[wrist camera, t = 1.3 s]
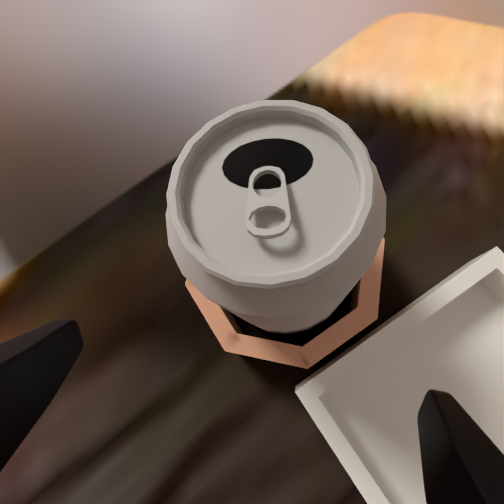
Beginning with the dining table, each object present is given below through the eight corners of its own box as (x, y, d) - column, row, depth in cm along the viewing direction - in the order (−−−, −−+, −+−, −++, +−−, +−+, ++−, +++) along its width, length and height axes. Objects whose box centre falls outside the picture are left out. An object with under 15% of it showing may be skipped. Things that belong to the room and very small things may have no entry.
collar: (407, 294, 19) (425, 284, 16) (263, 397, 19) (257, 405, 16) (302, 173, 23) (302, 148, 20) (178, 257, 22) (160, 243, 19)
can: (339, 216, 21) (382, 61, 10) (351, 333, 19) (426, 305, 8) (227, 224, 22) (152, 92, 11) (227, 337, 20) (132, 316, 9)
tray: (672, 471, 15) (758, 498, 12) (461, 638, 15) (499, 708, 12) (467, 262, 19) (496, 246, 16) (295, 385, 19) (294, 391, 16)
